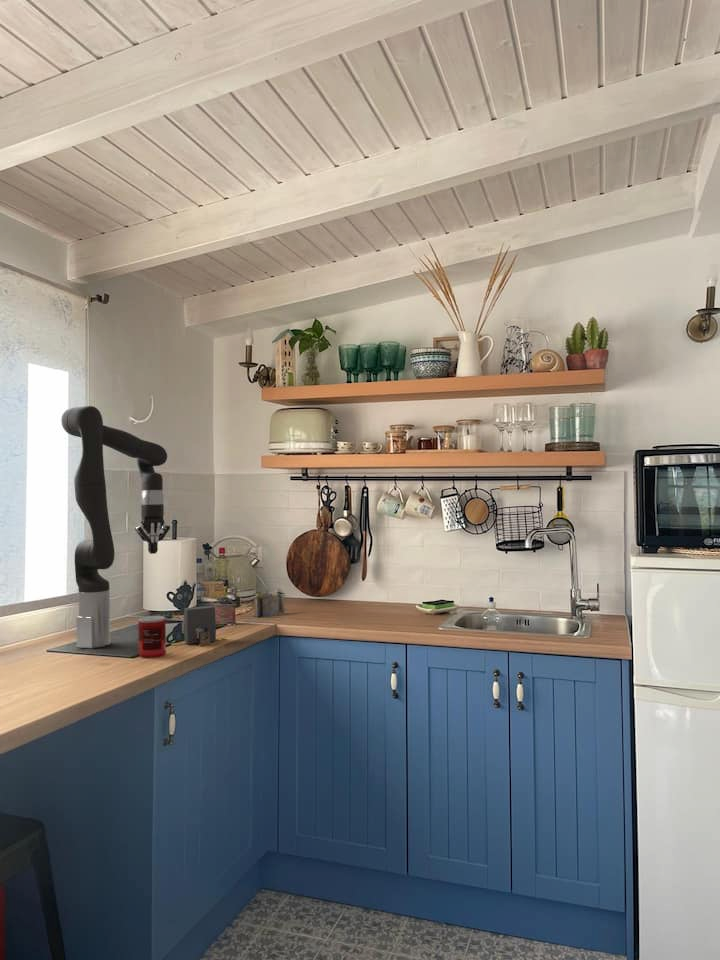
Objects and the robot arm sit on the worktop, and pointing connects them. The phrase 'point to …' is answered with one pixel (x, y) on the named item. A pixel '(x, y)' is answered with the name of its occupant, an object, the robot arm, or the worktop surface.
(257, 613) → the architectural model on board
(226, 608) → the lighter
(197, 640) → the block
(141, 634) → the canned food
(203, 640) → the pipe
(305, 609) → the worktop surface
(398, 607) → the worktop surface
